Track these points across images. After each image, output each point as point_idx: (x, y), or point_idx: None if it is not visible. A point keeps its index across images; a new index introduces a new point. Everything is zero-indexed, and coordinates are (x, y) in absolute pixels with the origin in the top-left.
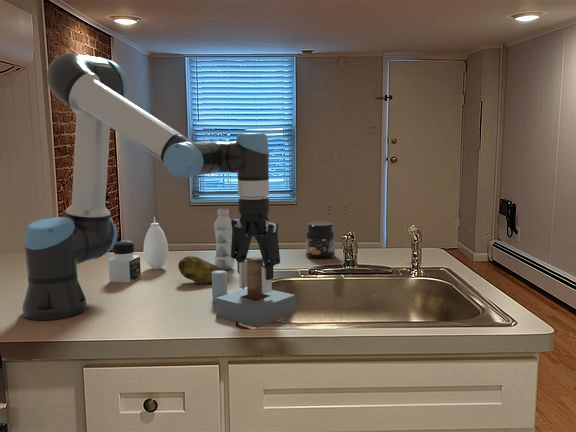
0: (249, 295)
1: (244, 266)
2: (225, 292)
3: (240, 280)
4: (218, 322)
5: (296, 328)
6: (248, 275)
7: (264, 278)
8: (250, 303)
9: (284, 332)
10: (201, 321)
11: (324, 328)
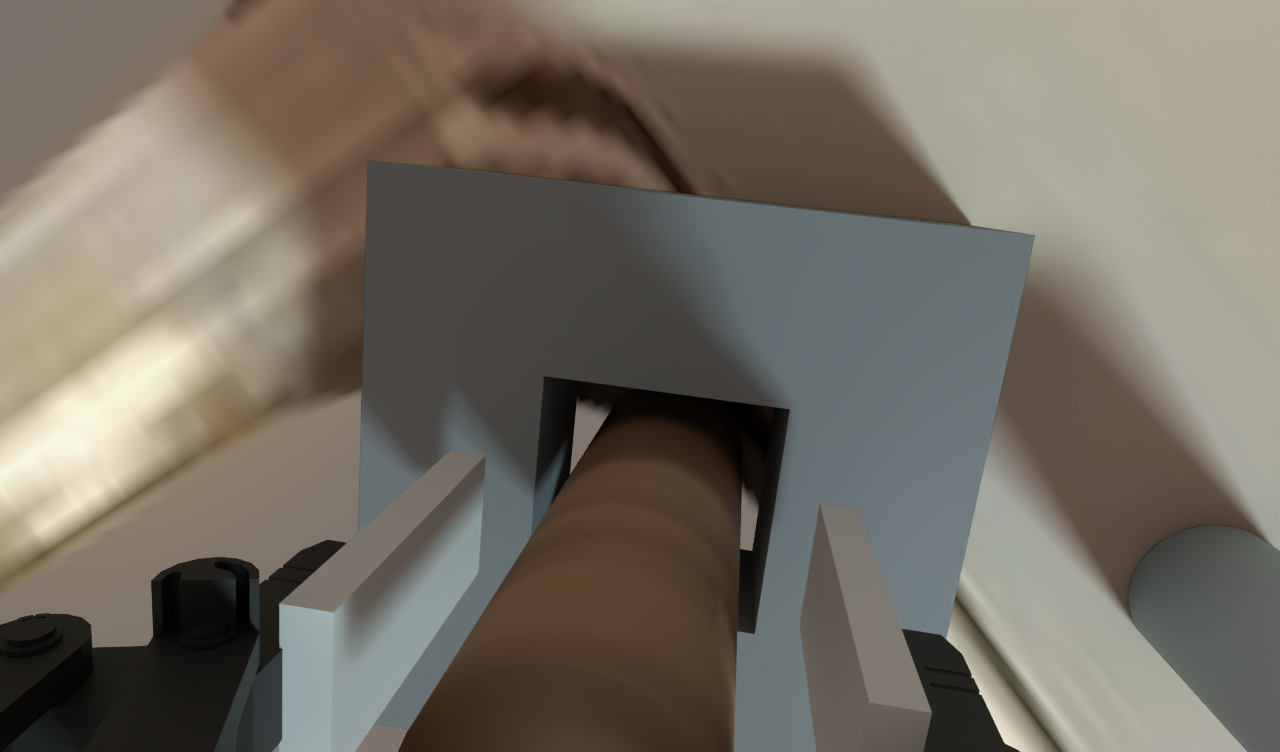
0: (667, 435)
1: (843, 727)
2: (1183, 644)
3: (850, 548)
4: (823, 76)
5: (185, 311)
6: (651, 531)
7: (373, 527)
8: (536, 267)
9: (196, 182)
10: (994, 3)
11: (36, 415)
